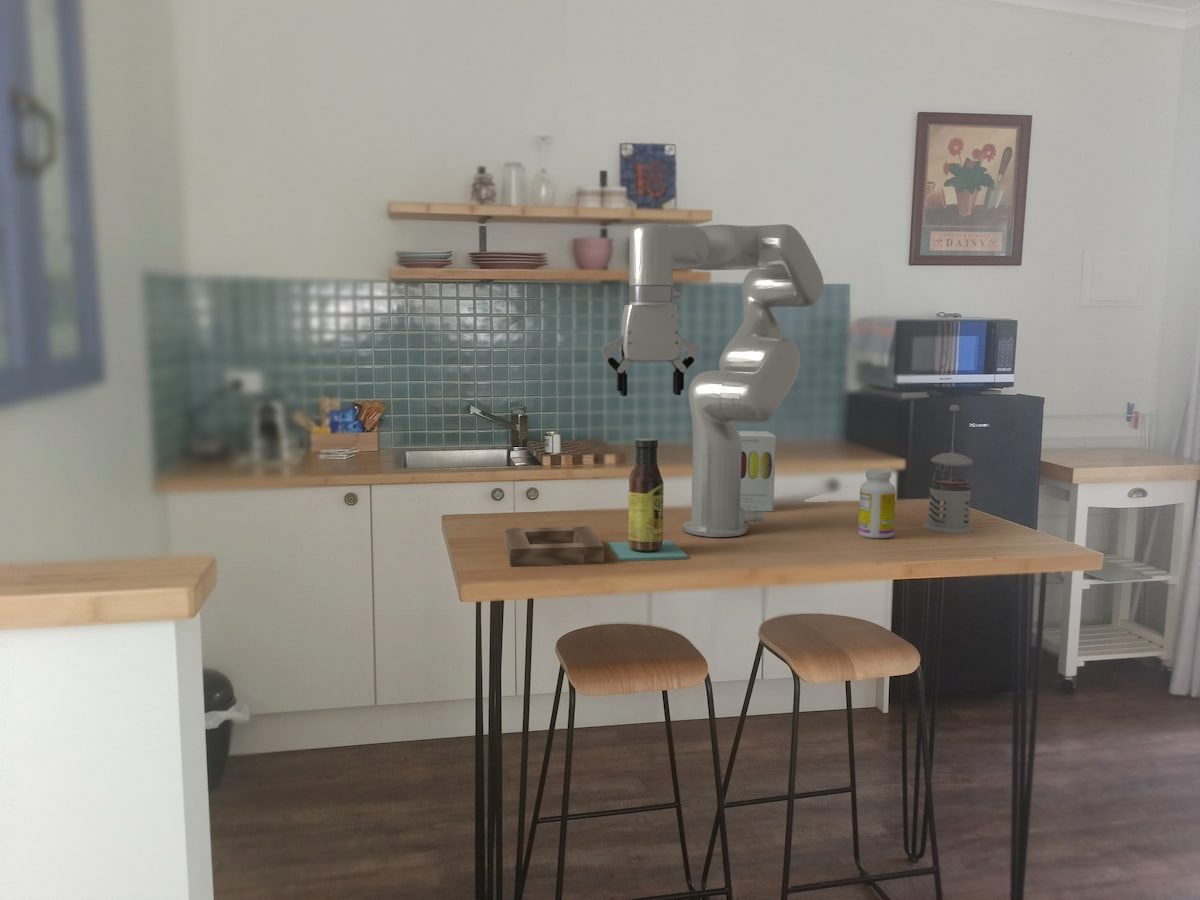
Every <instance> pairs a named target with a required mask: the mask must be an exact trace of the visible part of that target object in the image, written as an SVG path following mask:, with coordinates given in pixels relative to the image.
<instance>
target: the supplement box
mask: <svg viewBox="0 0 1200 900" xmlns="http://www.w3.org/2000/svg"><path fill="white" fill-rule="evenodd" d="M738 432H739V435H740V438H741V442H742V456H741V493H740V508H742V509H744V510H745V511H753V512H763V513H766V512H765V511H773V512H774V497H775V496H774V495H775V492H774V491H775V469H776V452H777V450H776V446H777V436H776V434H773V433H771V432H770V431H768V430H763V431H762V430H761V431H759V430H757V431H755V430H754V431H753V430H738Z"/></svg>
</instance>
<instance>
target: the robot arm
mask: <svg viewBox="0 0 1200 900" xmlns="http://www.w3.org/2000/svg"><path fill="white" fill-rule="evenodd" d="M674 269H675V270H676V269H677V270H679V269H680V270H681V269H683V270H695V271H696V270H697V271H699V270H700V271H734V270H735V271H738V270H739V271H740V270H741V271H743V270H745V271H746V270H749V272H748V273H746V275H745V277H744V278H743V282H742V287H741V290H742V292H741V293H742V302H743V305H742V306H743V322H742V323H741V326H739V329H738V330H737V331H736V333H735V334H734V335H733V337H732V338H731V339H730V341H729V342H728V343H727V345H726V346H725V348H724V349H723V351H722V353H721V356H720V358H719V361H718V368H719V370H707V371H702V372H700V373H698V374H696V376H695V377H693V378H692V381H691V382H690V384H689V388H688V404H689V409H690V414H691V422H692V465H691V467H692V469H691V470H692V472H691V515H690V516H691V517H690V519H691V520H688V521H685V522H684V523H683V526H682V527H683V528H682V529H683V531H685V533H687V534H690V535H693V536H699V537H707V538H728V537H729V538H732V537H733V538H734V537H738V536H742V535H745V534H747V532H748V525H747V524H749V522H754V523H757V522H765V521H764V520H765V514H764V513H765V512H753V511H745V510H744V509H742V508H740V493H741V456H742V442H741V438H740V435H739V432H738V431H739V430H738V429H737V427H736V425H735V422H740V423H741V422H742V423H749V424H750V423H753V424H755V423H756V424H757V423H764V422H766V421H768V420H769V419H771V418H772V417H773V416H774V415H775V413H776V411H777V410H778V409H779V407H780V405H781V404H782V402H783V401H784V399H785V398H786V396H787V395H788V393H789V392H790V390H791V388H792V387H793V385H794V383H795V382H796V380H797V378H798V375H799V372H800V368H801V354H800V351H799V347H798V346H797V344H796V343H795V342H794V341H793V340H791V339H789V338H787V337H783V329H782V326H781V324H780V322H779V319H778V318H777V316H776V315H775V314H774V311H773V308H808V307H812V306H814V305H816V304H817V303H819V302H820V300H821V298H822V296H823V293H824V285H825V284H824V283H825V282H824V278H823V274H822V271H821V269H820V267H819V265H818V263H817V261H816V259H815V257H814V255H813V253H812V251H811V249H810V247H809V246H808V243H807V242H806V240H805V239H804V237H803V235H802V234H801V233H800V231H798V229H796V228H795V227H794V226H792V225H790V224H787V223H785V224H784V223H783V224H781V223H780V224H765V225H738V224H737V225H734V224H708V225H701V226H700V225H699V226H697V225H692V224H682V225H681V224H680V225H668V224H665V223H655V222H652V223H649V222H648V223H638V224H635V225H633V226H632V227H631V229H630V232H629V288H628V289H629V290H628V291H629V294H628V296H629V297H628V299H629V300H628V301H629V304H624V307H623V312H622V319H621V328H620V329H621V330H620V331H621V332H620V337H619V338H617V339H615V340H613V341H612V342H610V343H608V344H606V345H604V346H602V347H601V352H602V354H603V357H604V359H605V360H606V362H607V363H606V364H608V365H609V366H610V367H611V368H612V369H613V370H614V371H615V372H616V390H617V392H619V395H620V396H622V397H626V396H628V374H627V372H626V369H627V368H628V367H629V366H630V365H631V364H632V363H666V362H667V363H670V364H671V365H672V366H673V367H674V371H673V373H672V393H673V394H674V395H676V396H681V395H682V391H683V390H684V389H685V372H686V371H687V370H688V369H689V367H690V366H691V365H693V363H695V359H696V358H697V356H698V353H699V352H700V347H699V346H697V345H695V344H694V343H692V342H690V341H688V340H686V339H685V338H682V337H681V330H680V321H679V314H678V307H677V305H676V304H673V302H674V301H675V299H678V298H679V299H681V296H682V291H681V290H680V289H675V287H674V286H673V283H674V278H673V277H674ZM681 347H682V348H684V349H686V350H687V351H688V353H687V356H686V357H685V358H684V359H683V360H682V361H681V359H680V357H681V352H682V351H681ZM618 348H619V349H620V352H619V353H620V355H619V356H620V358H621V360H620V361H619V362H618V360H616V359H615V357H614V356H613V354H612V353H613V351H615V350H616V349H618Z"/></svg>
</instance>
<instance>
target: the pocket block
mask: <svg viewBox="0 0 1200 900" xmlns="http://www.w3.org/2000/svg"><path fill="white" fill-rule="evenodd" d="M503 533H504V534H503V536H504V537H503V538H504V539H503V541H504V542H503V545H504V549H505V551H506V556H507V559H508V561H509V562H508V563H509V565H510V567H535V565H540V566H562V565H563V566H564V565H590V564H591V565H593V564H595V565H596V564H605V546H604V544H603V542H602V541H601V540H600V539H599V537H598V536H597V534H596V532H595V531H594V530H593V529H592V527H591V526H590V525H588V526H555V527H554V526H551V527H518V528H517V527H516V528H514V527H513V528H504V529H503Z"/></svg>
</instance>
